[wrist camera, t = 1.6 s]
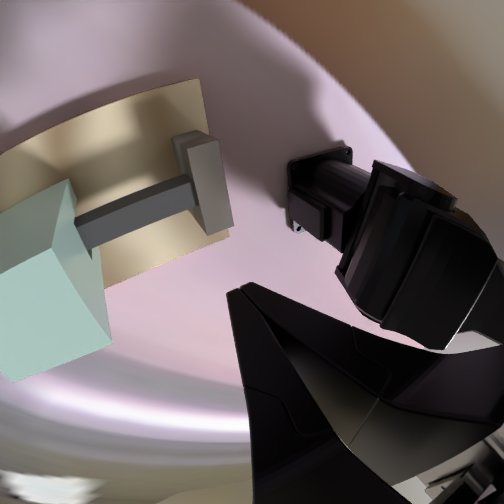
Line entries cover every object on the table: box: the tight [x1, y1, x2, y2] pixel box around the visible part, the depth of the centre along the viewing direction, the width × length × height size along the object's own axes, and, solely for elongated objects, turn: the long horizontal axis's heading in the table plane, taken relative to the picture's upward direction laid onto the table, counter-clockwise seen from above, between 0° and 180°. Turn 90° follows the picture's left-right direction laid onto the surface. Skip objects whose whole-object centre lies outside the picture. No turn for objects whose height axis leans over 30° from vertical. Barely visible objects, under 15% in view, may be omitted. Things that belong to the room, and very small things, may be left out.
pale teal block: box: [0, 178, 113, 383], centre depth 11 cm, size 6×5×8 cm
